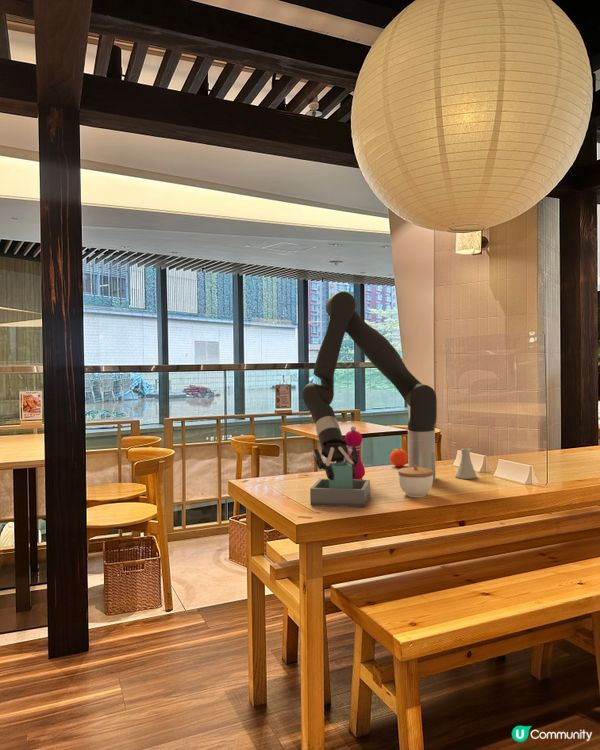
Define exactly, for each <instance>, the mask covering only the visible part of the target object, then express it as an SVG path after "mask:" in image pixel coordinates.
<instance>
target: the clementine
mask: <svg viewBox="0 0 600 750" xmlns="http://www.w3.org/2000/svg"><path fill="white" fill-rule="evenodd" d="M389 453H390V452H388V453H387V455H389ZM389 459H390V462H391V464H392V465H393V466H395V467H398V468H403V467H404V466H405V465H407V463H408V452H406V451H405V450H404V449H401V448H392V450H391V453H390V456H389Z"/></svg>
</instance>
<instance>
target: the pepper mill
mask: <svg viewBox="0 0 600 750" xmlns="http://www.w3.org/2000/svg"><path fill="white" fill-rule="evenodd" d="M362 442H363V435H362V433H360V432H359V431H358V430H357V428H356V426H353V425H352V426H351V427H350V431H348V432H346V433H345V435H344V443H346V445H345V446H346V447H347V448H352V447H356V450H357V456H358V463H357V466H356V467H354V469H355V472H356V474H355V477H354V478H352V479H356V480H364V479H363V478H364V476H365V475H366V471H365V467H364V464H363V462H362V460H361V455H360V453H361V450H362V445H361V443H362ZM347 455H348V456H349V458H350V459H351V460H352V457H351V456H350V454H349V453H348V452H347Z"/></svg>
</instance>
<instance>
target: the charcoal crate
mask: <svg viewBox="0 0 600 750" xmlns="http://www.w3.org/2000/svg"><path fill="white" fill-rule="evenodd" d="M352 481H353V489H333V488H329V479H328V478H318V480H316V482H315V483H313V485H312V486H311V487H310V488H309V490H310V492H309V493H310V497H309V498H310V502H309V503H310V506H316V505H324V506H323V507H326V506H327V507H342V506H348V507H349V508H350V507H351V508H365V507H366V505H367V502H368V501H369V499H370V497H371V480H370V479H363V480H356V479H352Z"/></svg>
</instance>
